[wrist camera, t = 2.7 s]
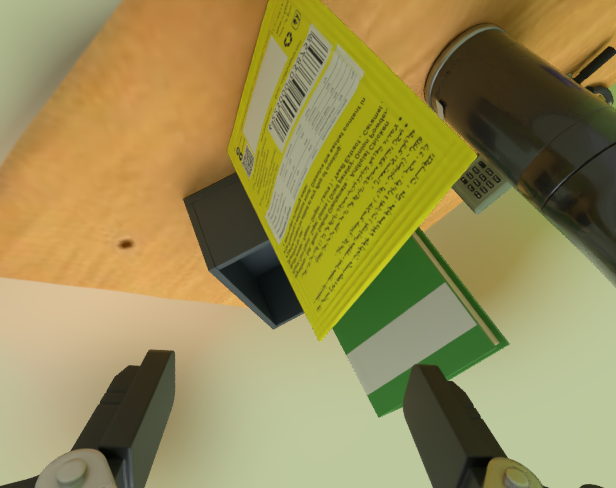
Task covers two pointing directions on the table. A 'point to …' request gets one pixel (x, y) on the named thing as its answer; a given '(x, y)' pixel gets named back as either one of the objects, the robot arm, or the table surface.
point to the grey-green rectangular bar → (485, 179)
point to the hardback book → (414, 324)
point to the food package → (335, 156)
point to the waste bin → (241, 251)
